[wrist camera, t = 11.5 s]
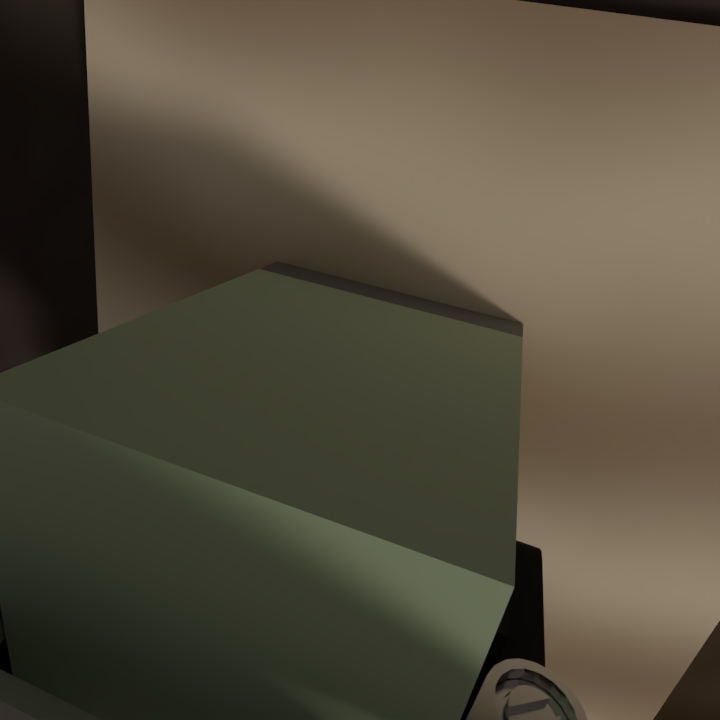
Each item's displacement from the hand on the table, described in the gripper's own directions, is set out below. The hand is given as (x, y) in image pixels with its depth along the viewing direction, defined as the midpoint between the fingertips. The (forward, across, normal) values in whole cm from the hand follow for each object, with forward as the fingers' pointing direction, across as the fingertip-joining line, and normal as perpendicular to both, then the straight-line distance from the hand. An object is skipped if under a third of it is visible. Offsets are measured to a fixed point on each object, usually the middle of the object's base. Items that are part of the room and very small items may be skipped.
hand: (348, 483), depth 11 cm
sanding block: (+1, 0, 0) cm, 1 cm away
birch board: (+2, 0, +3) cm, 4 cm away
